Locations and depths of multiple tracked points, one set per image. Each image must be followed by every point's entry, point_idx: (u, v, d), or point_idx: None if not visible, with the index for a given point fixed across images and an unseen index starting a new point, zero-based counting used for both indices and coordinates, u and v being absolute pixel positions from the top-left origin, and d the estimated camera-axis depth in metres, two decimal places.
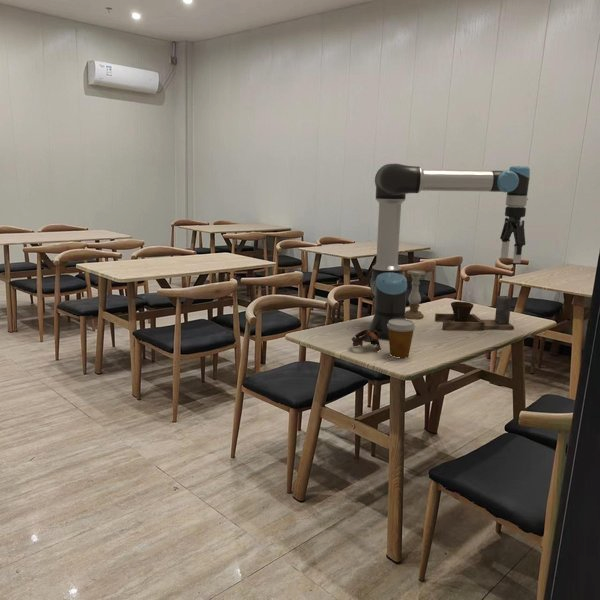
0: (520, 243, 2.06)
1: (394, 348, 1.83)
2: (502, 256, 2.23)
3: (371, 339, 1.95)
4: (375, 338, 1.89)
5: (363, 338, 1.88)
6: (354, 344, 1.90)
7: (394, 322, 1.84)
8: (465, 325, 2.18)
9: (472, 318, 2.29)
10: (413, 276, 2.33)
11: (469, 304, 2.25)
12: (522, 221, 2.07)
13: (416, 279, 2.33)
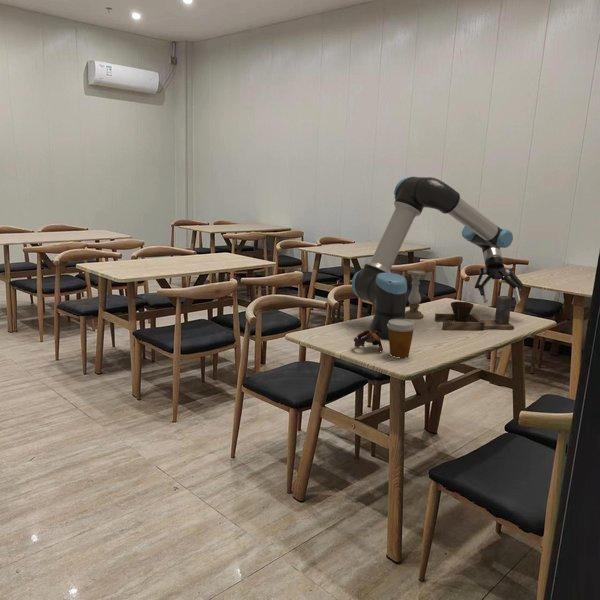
0: None
1: (394, 348, 1.83)
2: None
3: (373, 340, 1.95)
4: (377, 339, 1.89)
5: (365, 339, 1.88)
6: (356, 345, 1.89)
7: (394, 322, 1.84)
8: (465, 325, 2.18)
9: (472, 318, 2.29)
10: (413, 276, 2.33)
11: (469, 304, 2.25)
12: None
13: (416, 279, 2.33)
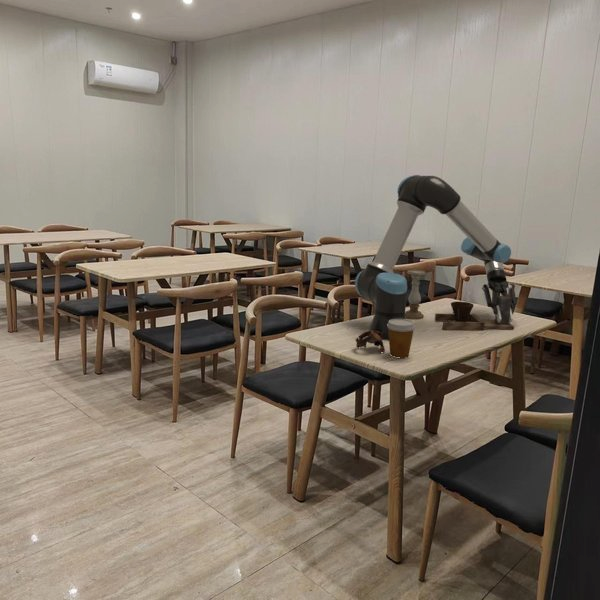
0: None
1: (394, 348, 1.83)
2: None
3: (375, 340, 1.94)
4: (379, 339, 1.88)
5: (367, 339, 1.87)
6: (358, 345, 1.89)
7: (394, 322, 1.84)
8: (465, 325, 2.18)
9: (472, 318, 2.29)
10: (413, 276, 2.33)
11: (469, 304, 2.25)
12: None
13: (416, 279, 2.33)
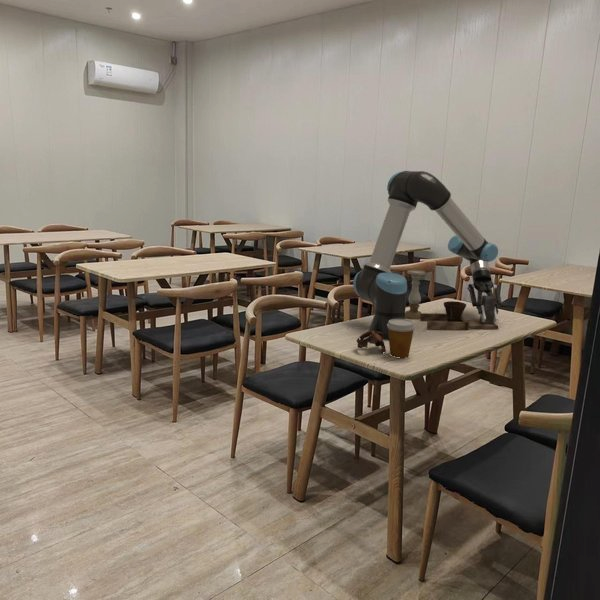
0: None
1: (394, 348, 1.83)
2: None
3: (376, 341, 1.94)
4: (380, 340, 1.88)
5: (368, 340, 1.86)
6: (359, 346, 1.88)
7: (394, 322, 1.84)
8: (449, 325, 2.18)
9: None
10: (413, 276, 2.33)
11: (462, 304, 2.25)
12: None
13: (416, 279, 2.33)
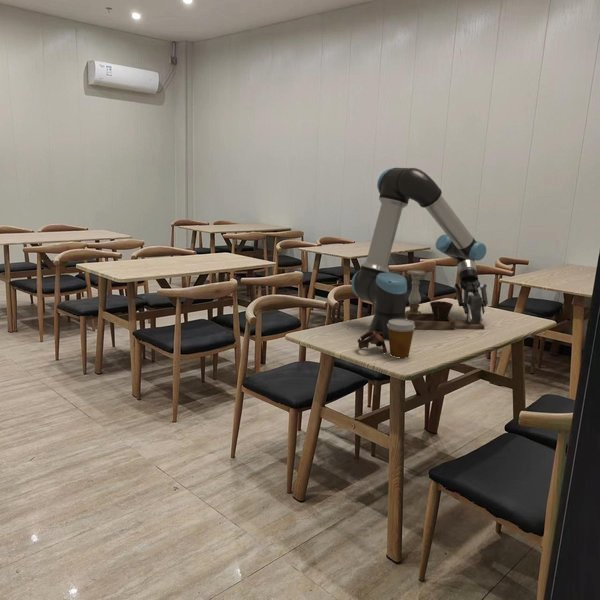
0: None
1: (394, 348, 1.83)
2: None
3: (376, 341, 1.93)
4: (381, 340, 1.88)
5: (369, 340, 1.86)
6: (360, 346, 1.88)
7: (394, 322, 1.84)
8: (435, 324, 2.18)
9: None
10: (413, 276, 2.33)
11: (448, 304, 2.25)
12: None
13: (416, 279, 2.33)
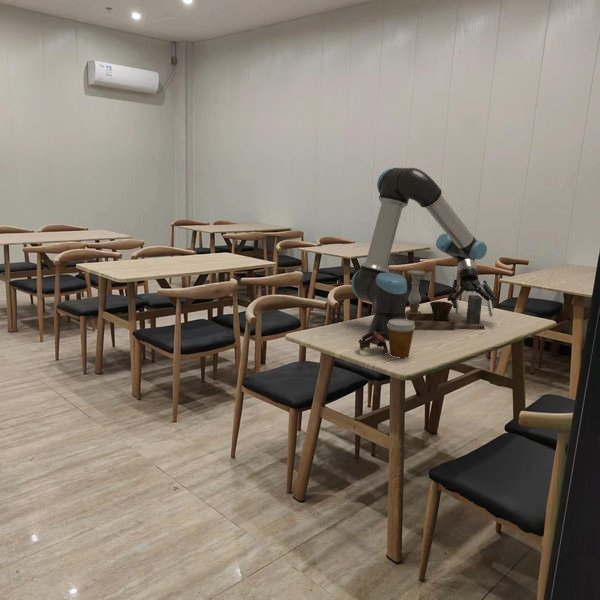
0: None
1: (394, 348, 1.83)
2: None
3: (378, 341, 1.93)
4: (382, 340, 1.87)
5: (370, 340, 1.86)
6: (362, 347, 1.88)
7: (394, 322, 1.84)
8: (435, 324, 2.18)
9: None
10: (413, 276, 2.33)
11: (448, 304, 2.25)
12: None
13: (416, 279, 2.33)
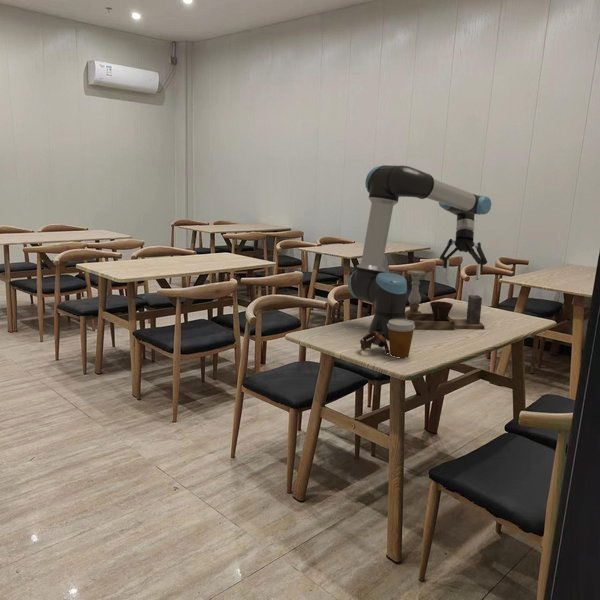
0: None
1: (394, 348, 1.83)
2: None
3: (379, 341, 1.93)
4: (384, 341, 1.87)
5: (372, 341, 1.85)
6: (363, 347, 1.87)
7: (394, 322, 1.84)
8: (435, 324, 2.18)
9: None
10: (413, 276, 2.33)
11: (448, 304, 2.25)
12: None
13: (416, 279, 2.33)
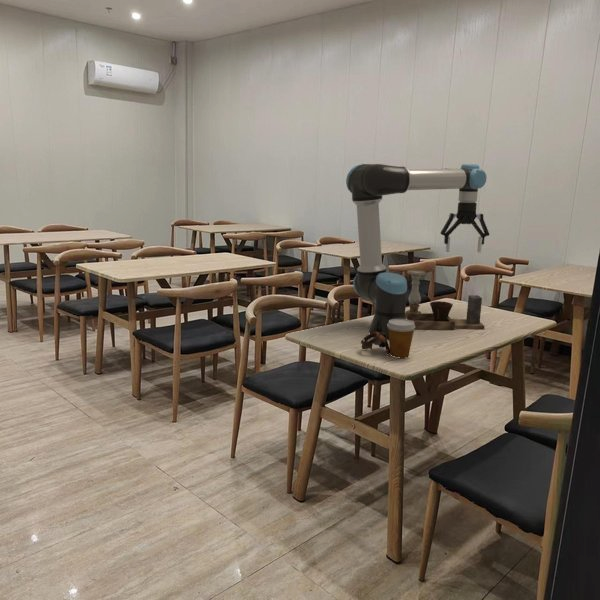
0: None
1: (395, 348, 1.83)
2: None
3: (380, 342, 1.92)
4: (385, 341, 1.86)
5: (373, 341, 1.85)
6: (364, 347, 1.87)
7: (395, 322, 1.84)
8: (435, 324, 2.18)
9: None
10: (413, 276, 2.33)
11: (448, 304, 2.25)
12: None
13: (416, 279, 2.33)
